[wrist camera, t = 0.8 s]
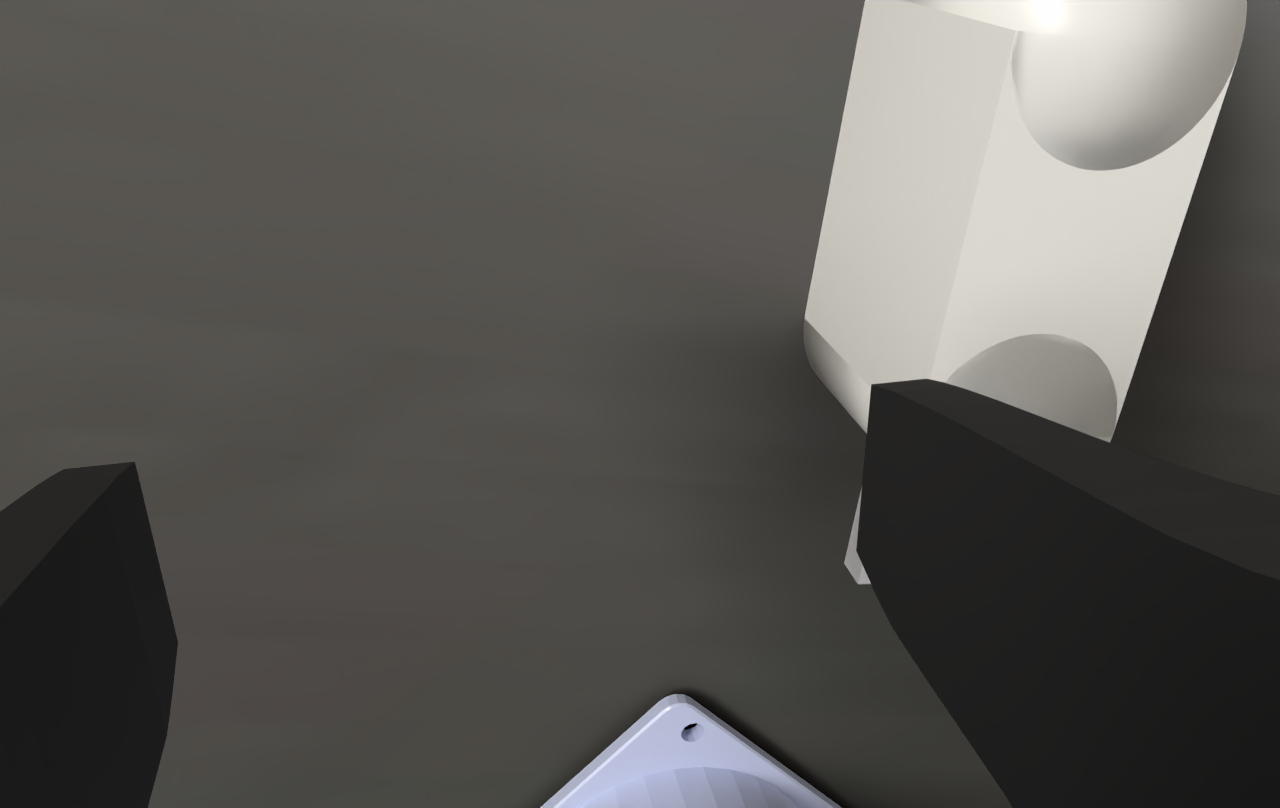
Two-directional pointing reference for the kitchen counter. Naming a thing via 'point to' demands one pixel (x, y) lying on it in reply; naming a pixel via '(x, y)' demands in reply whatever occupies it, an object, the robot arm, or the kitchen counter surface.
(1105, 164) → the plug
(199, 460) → the kitchen counter surface
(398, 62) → the kitchen counter surface
